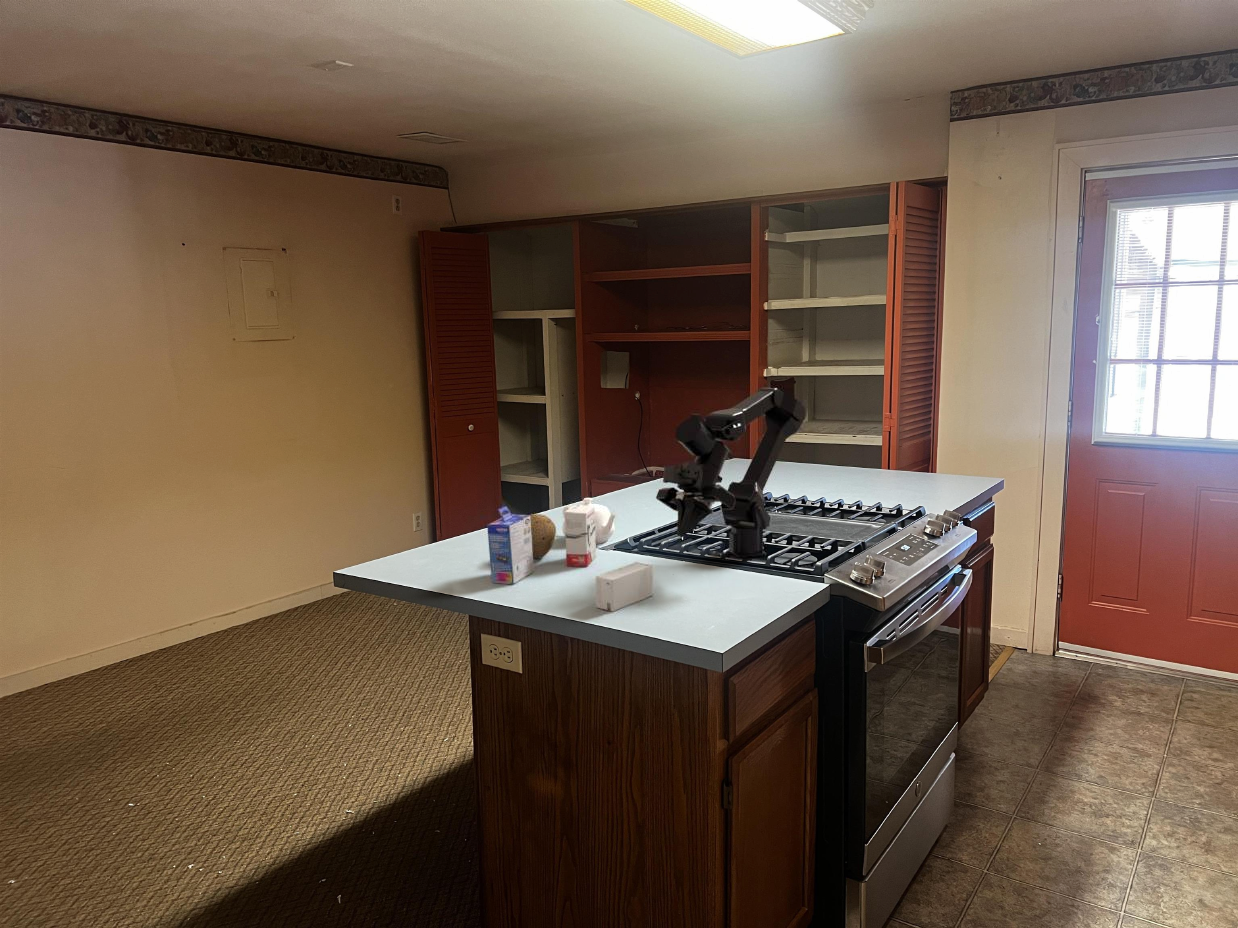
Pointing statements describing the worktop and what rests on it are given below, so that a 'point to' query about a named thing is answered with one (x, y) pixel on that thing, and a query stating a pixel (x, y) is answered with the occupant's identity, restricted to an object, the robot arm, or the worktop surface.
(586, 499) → the teapot
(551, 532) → the natural sponge
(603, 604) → the skincare box
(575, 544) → the ink box
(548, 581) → the worktop surface
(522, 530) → the ink cartridge box
